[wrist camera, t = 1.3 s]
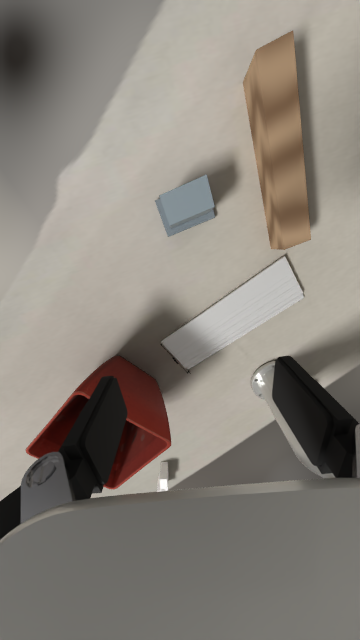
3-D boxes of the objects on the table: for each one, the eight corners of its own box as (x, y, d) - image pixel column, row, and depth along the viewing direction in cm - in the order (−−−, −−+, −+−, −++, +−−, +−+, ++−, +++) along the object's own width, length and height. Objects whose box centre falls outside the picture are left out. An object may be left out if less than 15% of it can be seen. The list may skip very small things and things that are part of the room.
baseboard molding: (304, 301, 40) (280, 255, 36) (313, 305, 37) (288, 256, 33) (190, 371, 47) (161, 339, 43) (191, 378, 44) (160, 345, 40)
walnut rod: (293, 240, 34) (310, 239, 30) (270, 248, 35) (284, 249, 30) (272, 68, 26) (293, 30, 21) (242, 84, 26) (256, 50, 22)
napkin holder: (161, 454, 60) (159, 474, 55) (187, 466, 63) (188, 486, 57) (136, 475, 64) (133, 496, 59) (162, 485, 67) (161, 506, 62)
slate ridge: (214, 217, 33) (223, 211, 26) (168, 236, 34) (166, 235, 27) (204, 179, 30) (211, 162, 24) (155, 201, 32) (149, 190, 25)
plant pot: (113, 336, 42) (75, 390, 26) (175, 378, 47) (174, 445, 31) (73, 384, 47) (22, 453, 32) (132, 418, 52) (113, 491, 37)
